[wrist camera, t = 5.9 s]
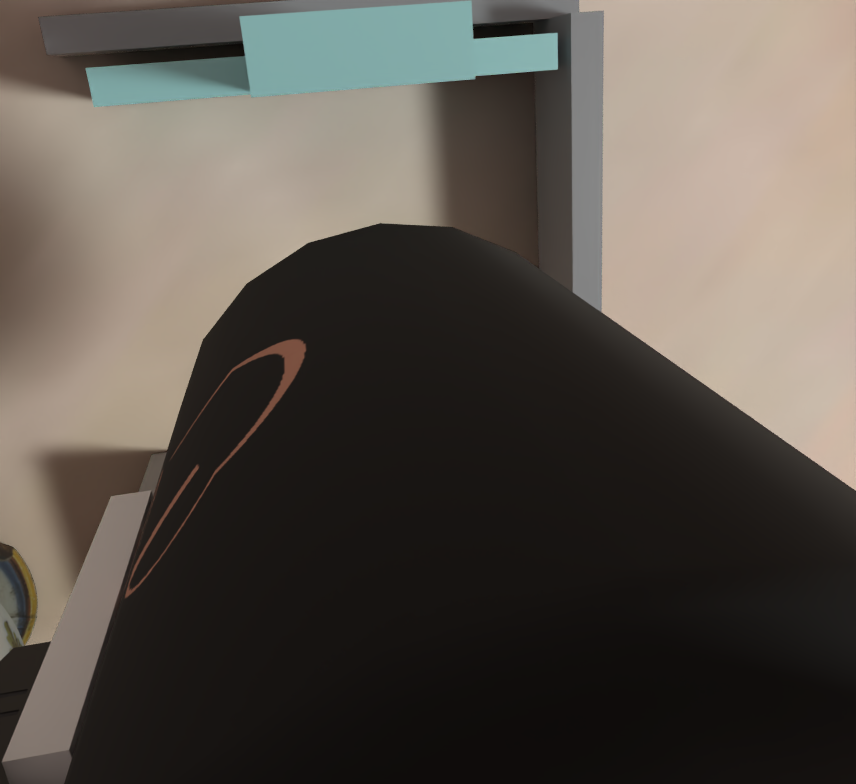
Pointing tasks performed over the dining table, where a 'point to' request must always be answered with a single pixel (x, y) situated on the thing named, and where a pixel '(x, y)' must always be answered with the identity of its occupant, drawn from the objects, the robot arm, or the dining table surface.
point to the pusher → (333, 56)
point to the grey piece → (491, 5)
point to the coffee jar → (471, 550)
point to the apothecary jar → (15, 601)
